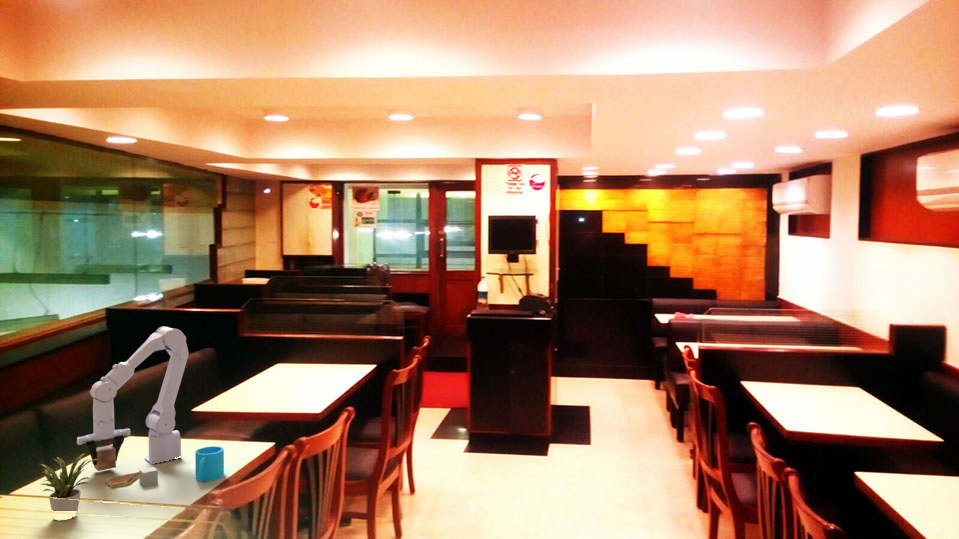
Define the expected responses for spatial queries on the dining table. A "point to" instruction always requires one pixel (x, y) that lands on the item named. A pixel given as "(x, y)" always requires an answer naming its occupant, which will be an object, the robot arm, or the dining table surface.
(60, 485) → the house plant
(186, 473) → the dining table surface
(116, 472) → the dining table surface
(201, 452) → the mug
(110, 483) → the shard
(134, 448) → the dining table surface
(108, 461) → the walnut block
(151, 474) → the light-grey block
